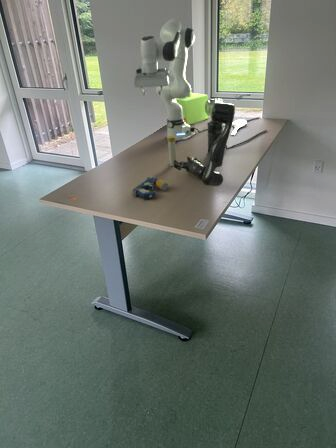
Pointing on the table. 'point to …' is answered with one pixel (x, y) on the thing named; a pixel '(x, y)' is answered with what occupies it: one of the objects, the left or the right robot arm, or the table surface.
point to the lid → (171, 138)
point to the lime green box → (193, 107)
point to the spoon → (238, 125)
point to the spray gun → (149, 187)
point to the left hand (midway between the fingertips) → (152, 94)
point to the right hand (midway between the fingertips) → (181, 160)
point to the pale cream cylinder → (172, 152)
